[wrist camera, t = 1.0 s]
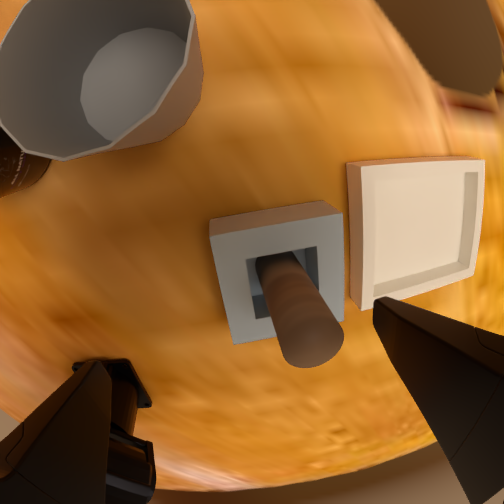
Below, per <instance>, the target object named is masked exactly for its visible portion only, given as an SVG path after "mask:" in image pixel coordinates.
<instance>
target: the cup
mask: <svg viewBox="0 0 504 504" xmlns="http://www.w3.org/2000/svg"><path fill="white" fill-rule="evenodd" d="M203 74H204V72H203V66H202V59H201V52H200V45H199V38H198V31H197V24H196V17H195V14H194V11H193V9H192V6H191V4H190V1H189V0H29V1H28V2H27V3H26V4H25V5H24V6H23V7H22V9H21V10H20V12H19V13H18V15H17V16H16V18H15V20H14V21H13V23H12V25H11V26H10V28H9V30H8V31H7V33H6V35H5V37H4V38H3V40H2V42H1V44H0V126H1V127H2V128H3V130H4V131H5V132H6V133H7V134H8V135H9V136H10V137H11V138H12V139H13V140H14V142H15V143H16V144H17V145H18V146H19V147H20V148H21V149H22V150H23V151H24V152H25V153H29V154H33V155H38V156H42V157H46V158H51V159H55V160H59V161H63V162H64V161H68V160H72V159H76V158H80V157H85V156H89V155H94V154H99V153H104V152H109V151H114V150H119V149H124V148H130V147H135V146H140V145H144V144H149V143H154V142H159V141H162V140H163V139H164V138H166V137H167V136H169V135H170V134H171V133H173V132H174V131H176V130H177V129H179V128H180V127H182V126H183V125H185V123H186V121H187V120H188V118H189V117H190V115H191V113H192V112H193V110H194V109H195V107H196V106H197V104H198V102H199V101H200V96H201V89H202V81H203Z"/></svg>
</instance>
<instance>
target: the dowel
mask: <svg viewBox="0 0 504 504" xmlns="http://www.w3.org/2000/svg"><path fill="white" fill-rule="evenodd" d="M255 269H256V273H257V276H258V279H259V282H260V285H261V288H262V291H263V295H264V298H265V301H266V304H267V307H268V310H269V313H270V316H271V319H272V322H273V326H274V329H275V332H276V335H277V338H278V341H279V344H280V347H281V350H282V353H283V356H284V358H285V360H286V361H287V362H288V363H289V364H291V365H293V366H295V367H299V368H311V367H316V366H319V365H321V364H323V363H325V362H327V361H329V360H330V359H331V358H332V357H334V356H335V355H336V354H337V352H338V351H339V350H340V348H341V346H342V344H343V340H344V333H343V330H342V328H341V326H340V324H339V323H338V321H337V320H336V318H335V316H334V315H333V313H332V312H331V310H330V309H329V307H328V305H327V304H326V302H325V301H324V299H323V298H322V296H321V294H320V293H319V291H318V290H317V288H316V287H315V285H314V284H313V282H312V280H311V279H310V277H309V276H308V274H307V273H306V271H305V270H304V268H303V267H302V265H301V264H300V262H299V261H298V259H297V258H296V256H295V255H294V253H293V252H292V251H287V252H282V253H277V254H271V255H266V256H260V257H257V259H256V263H255Z"/></svg>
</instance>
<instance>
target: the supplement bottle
mask: <svg viewBox="0 0 504 504" xmlns="http://www.w3.org/2000/svg"><path fill="white" fill-rule="evenodd" d="M49 161H50V158H46V157H42V156H38V155H33V154H29V153H25V152H24V151H23V150H22V149H21V148H20V147H19V146H18V145H17V144H16V143H15V142H14V140H13V139H12V138H11V137H10V136H9V135H8V134H7V133H6V132H5V131H4V130H3V128H2V127H1V126H0V198H2V197H4V196H7V195H9V194H12V193H14V192H17V191H20V190H22V189H24V188H27V187H29V186H30V185H32V184H33V183H35V182H36V181H37V180H38V179H39V178H40V177H41V175H42V174H43V173H44V171H45V169H46V168H47V166H48V163H49Z"/></svg>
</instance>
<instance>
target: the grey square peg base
mask: <svg viewBox="0 0 504 504" xmlns="http://www.w3.org/2000/svg"><path fill="white" fill-rule="evenodd" d="M209 238H210V243H211V248H212V252H213V257H214V262H215V266H216V271H217V275H218V280H219V284H220V289H221V293H222V298H223V302H224V306H225V311H226V315H227V319H228V323H229V328H230V332H231V336H232V340H233V344H234V345H235V344H241V343H246V342H252V341H257V340H262V339H267V338H272V337H277V335H276V332H275V329H274V326H273V322H272V319H271V316H270V313H269V310H268V307H267V304H266V301H265V298H264V295H263V291H262V288H261V285H260V282H259V279H258V276H257V273H256V269H255V263H256V259H257V257H260V256H266V255H271V254H277V253H282V252H287V251H292V252H293V253H294V255H295V256H296V258H297V259H298V261H299V262H300V264H301V265H302V267H303V268H304V270H305V271H306V273H307V274H308V276H309V277H310V279H311V280H312V282H313V284H314V285H315V287H316V288H317V290H318V291H319V293H320V294H321V296H322V298H323V299H324V301H325V302H326V304H327V305H328V307H329V309H330V310H331V312H332V313H333V315H334V316H335V318H336V320H337V321H338V322H341V321H344V233H343V213H342V212H340V211H339V210H337V209H336V208H334V207H333V206H331V205H330V204H328V203H326V202H325V201H323V200H322V201H315V202H309V203H302V204H296V205H289V206H283V207H277V208H271V209H265V210H259V211H254V212H248V213H242V214H237V215H231V216H226V217H220V218H215V219H210V225H209Z"/></svg>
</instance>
